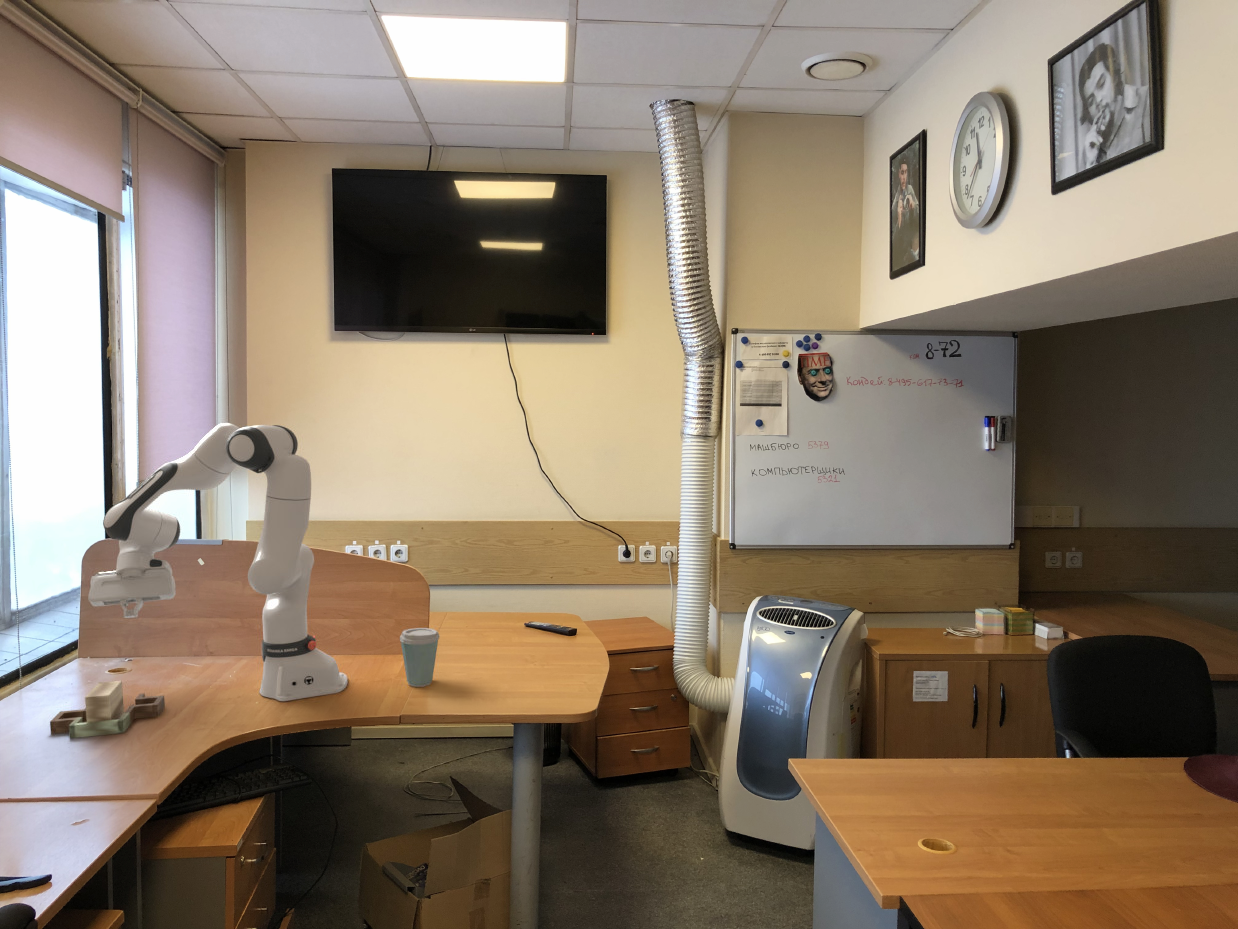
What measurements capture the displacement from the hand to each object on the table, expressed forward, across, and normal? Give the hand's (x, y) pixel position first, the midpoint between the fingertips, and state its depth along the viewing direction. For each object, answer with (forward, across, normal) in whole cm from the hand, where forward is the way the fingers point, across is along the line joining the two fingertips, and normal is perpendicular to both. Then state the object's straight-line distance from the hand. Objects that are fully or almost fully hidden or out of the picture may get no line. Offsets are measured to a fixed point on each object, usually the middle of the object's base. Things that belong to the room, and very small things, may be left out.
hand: (130, 616), depth 221 cm
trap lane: (+27, -3, +1) cm, 27 cm away
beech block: (+28, -3, -1) cm, 28 cm away
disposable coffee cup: (+26, +72, +6) cm, 77 cm away
